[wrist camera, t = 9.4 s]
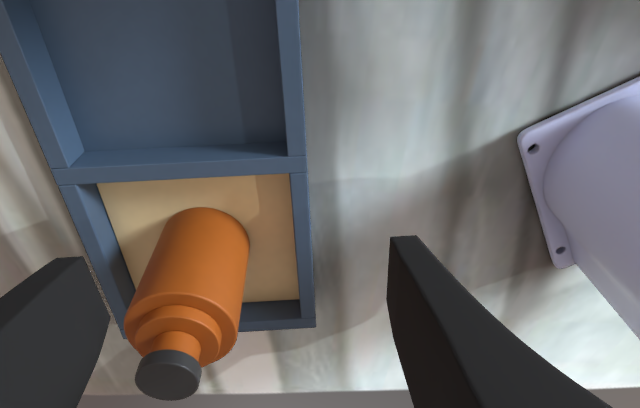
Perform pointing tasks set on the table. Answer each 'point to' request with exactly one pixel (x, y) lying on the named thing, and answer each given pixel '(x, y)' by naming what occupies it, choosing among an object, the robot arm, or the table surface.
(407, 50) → the table surface
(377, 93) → the table surface
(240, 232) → the bottle
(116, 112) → the tray
